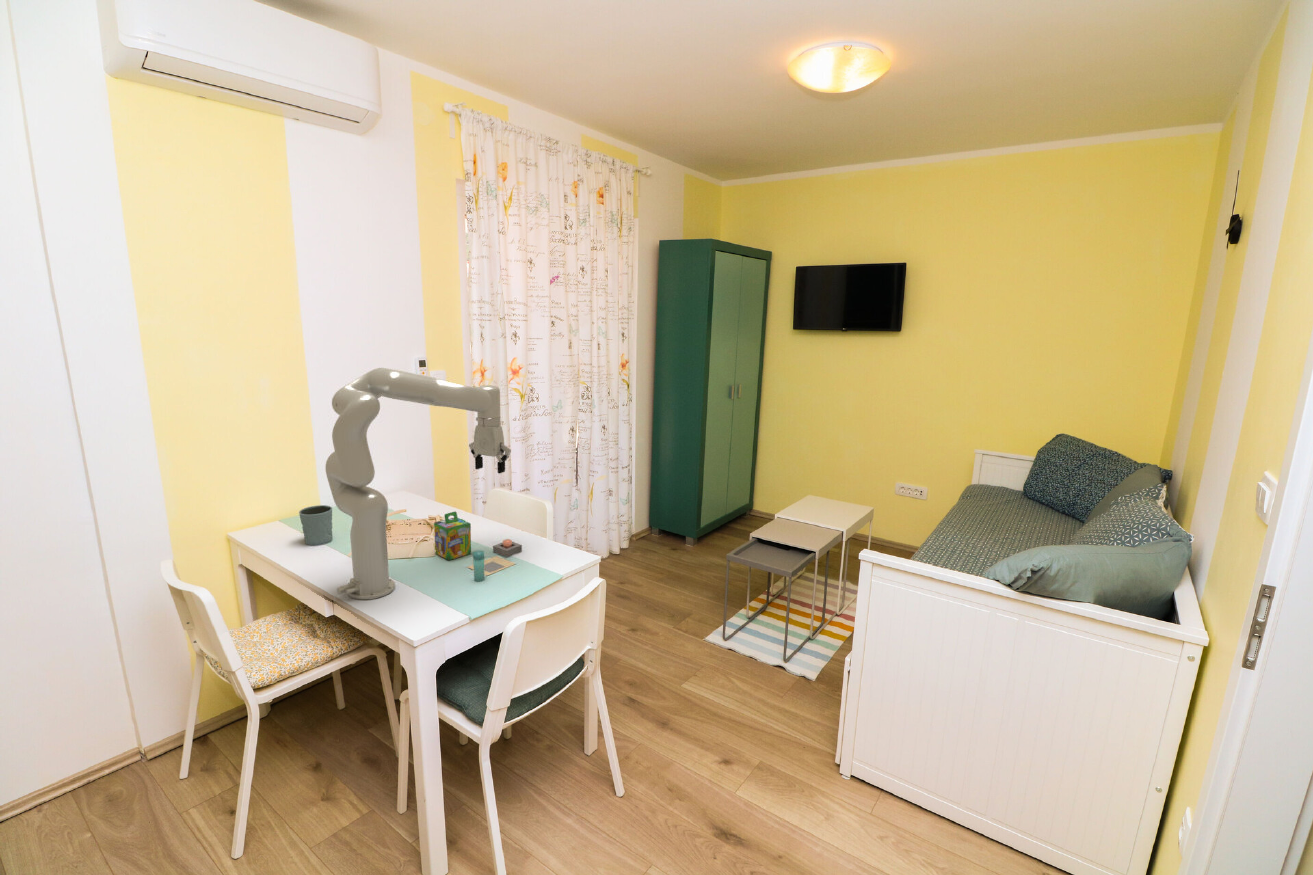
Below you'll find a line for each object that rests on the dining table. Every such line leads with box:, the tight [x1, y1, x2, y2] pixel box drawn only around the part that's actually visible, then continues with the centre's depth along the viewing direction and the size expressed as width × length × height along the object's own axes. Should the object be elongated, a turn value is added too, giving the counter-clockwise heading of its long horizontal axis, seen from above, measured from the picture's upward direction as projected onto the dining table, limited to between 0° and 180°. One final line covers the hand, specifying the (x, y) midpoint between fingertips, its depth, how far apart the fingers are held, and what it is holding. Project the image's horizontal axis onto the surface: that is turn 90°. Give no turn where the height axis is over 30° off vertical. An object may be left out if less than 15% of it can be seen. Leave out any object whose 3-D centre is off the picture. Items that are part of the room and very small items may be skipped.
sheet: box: [466, 555, 516, 577], centre depth 196 cm, size 12×10×1 cm
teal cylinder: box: [472, 550, 486, 582], centre depth 185 cm, size 3×3×9 cm
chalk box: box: [433, 511, 472, 561], centre depth 203 cm, size 9×9×15 cm
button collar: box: [492, 541, 523, 559], centre depth 207 cm, size 7×7×2 cm
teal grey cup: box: [298, 504, 333, 547], centre depth 209 cm, size 10×10×12 cm
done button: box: [502, 538, 513, 548], centre depth 207 cm, size 3×3×3 cm
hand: (490, 470), depth 203 cm, fingers open, 9 cm apart
